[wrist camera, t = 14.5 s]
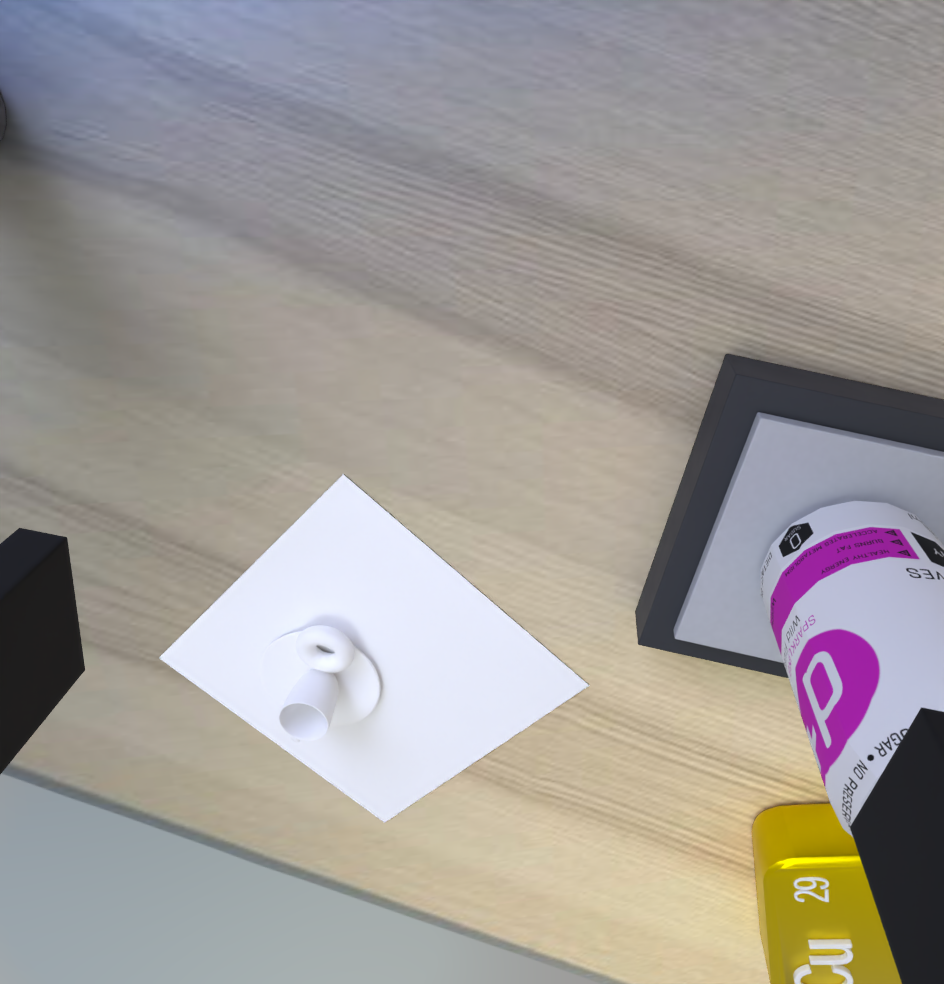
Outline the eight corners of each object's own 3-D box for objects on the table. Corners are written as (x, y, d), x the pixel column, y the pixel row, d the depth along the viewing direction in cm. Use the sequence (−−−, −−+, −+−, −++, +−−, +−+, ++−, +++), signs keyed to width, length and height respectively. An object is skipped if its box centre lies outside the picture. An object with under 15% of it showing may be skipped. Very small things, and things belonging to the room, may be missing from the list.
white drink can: (733, 614, 41) (804, 873, 28) (795, 475, 37) (911, 702, 24) (889, 650, 41) (1034, 928, 27) (968, 514, 37) (1182, 764, 23)
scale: (725, 353, 38) (738, 380, 35) (1057, 423, 38) (1102, 457, 35) (634, 612, 46) (638, 654, 43) (909, 673, 46) (934, 720, 42)
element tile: (984, 943, 55) (1017, 1015, 51) (760, 946, 59) (773, 1013, 54) (1001, 792, 49) (1040, 859, 45) (748, 803, 52) (762, 868, 48)
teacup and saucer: (318, 597, 48) (297, 640, 45) (415, 675, 50) (401, 721, 47) (239, 670, 52) (213, 714, 49) (331, 739, 54) (313, 787, 51)
